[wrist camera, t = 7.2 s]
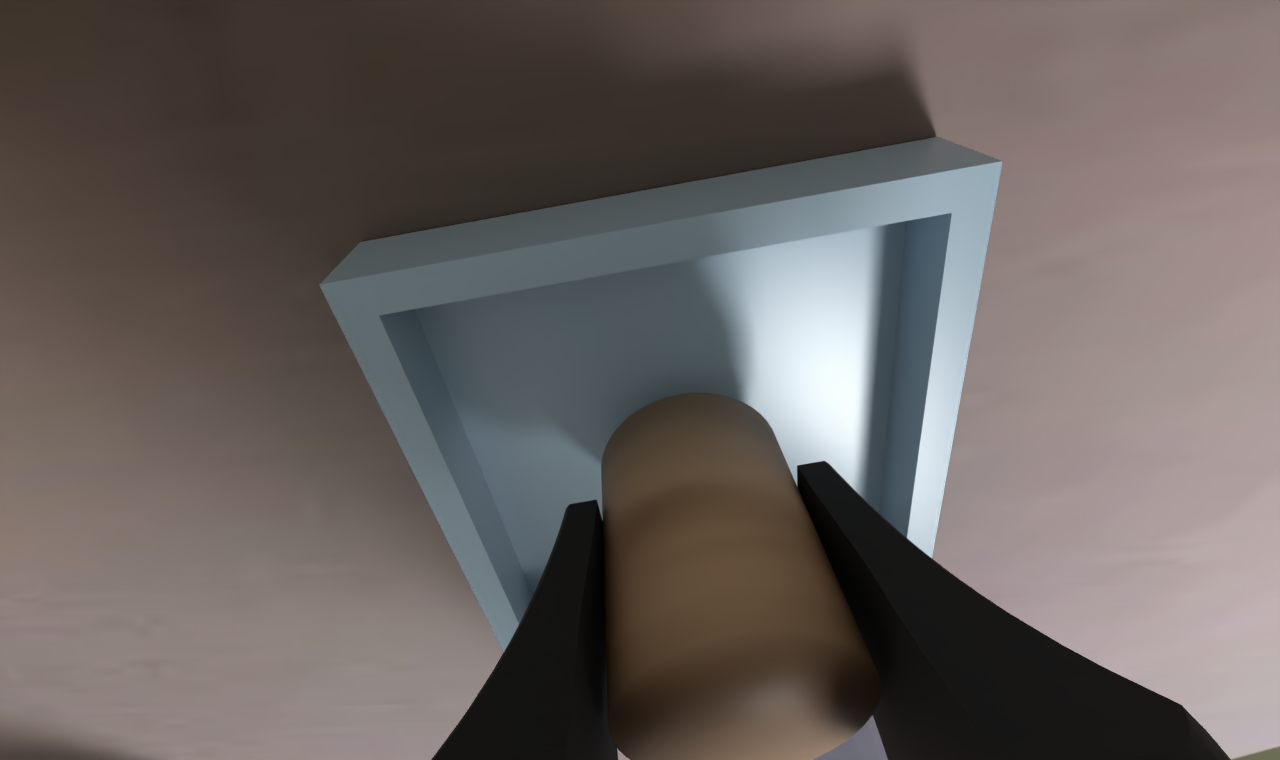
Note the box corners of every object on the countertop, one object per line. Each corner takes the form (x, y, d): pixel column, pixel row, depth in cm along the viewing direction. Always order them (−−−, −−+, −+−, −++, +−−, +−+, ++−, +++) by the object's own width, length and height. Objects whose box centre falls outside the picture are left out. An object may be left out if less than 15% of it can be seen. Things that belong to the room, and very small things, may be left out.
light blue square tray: (890, 538, 19) (924, 596, 17) (517, 599, 20) (509, 664, 18) (937, 136, 12) (1002, 160, 10) (359, 242, 13) (319, 285, 11)
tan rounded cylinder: (776, 516, 16) (866, 761, 11) (614, 539, 16) (626, 794, 11) (780, 380, 13) (898, 612, 8) (587, 406, 13) (587, 654, 8)
